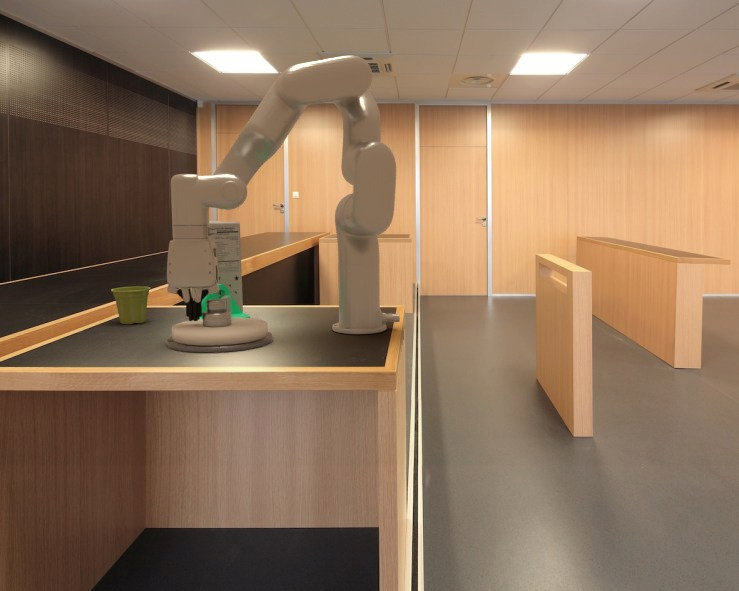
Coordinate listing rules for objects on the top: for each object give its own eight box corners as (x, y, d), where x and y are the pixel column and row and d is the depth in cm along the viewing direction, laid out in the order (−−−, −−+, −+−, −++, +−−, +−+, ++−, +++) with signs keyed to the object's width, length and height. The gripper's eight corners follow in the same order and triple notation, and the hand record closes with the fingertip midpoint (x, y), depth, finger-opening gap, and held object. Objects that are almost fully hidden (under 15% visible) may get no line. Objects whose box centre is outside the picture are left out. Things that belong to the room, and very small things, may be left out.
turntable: (272, 326, 153) (271, 294, 152) (261, 344, 133) (260, 308, 132) (184, 328, 152) (183, 296, 151) (160, 346, 132) (159, 309, 131)
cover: (233, 322, 145) (232, 297, 144) (228, 327, 139) (228, 301, 138) (205, 322, 145) (204, 298, 144) (200, 327, 139) (199, 302, 138)
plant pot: (105, 325, 165) (102, 290, 163) (127, 318, 174) (125, 285, 172) (138, 326, 162) (136, 291, 161) (159, 320, 171) (157, 286, 170)
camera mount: (203, 332, 155) (201, 288, 154) (194, 327, 162) (192, 285, 160) (252, 327, 161) (250, 285, 160) (241, 322, 168) (239, 282, 166)
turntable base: (277, 331, 154) (277, 327, 154) (266, 352, 132) (266, 347, 132) (181, 333, 153) (181, 328, 153) (154, 353, 131) (154, 348, 131)
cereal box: (192, 311, 185) (188, 221, 182) (218, 309, 189) (215, 220, 185) (214, 323, 166) (210, 222, 163) (243, 320, 170) (240, 222, 167)
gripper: (230, 233, 143) (232, 317, 146) (160, 233, 143) (163, 317, 145) (223, 234, 136) (226, 323, 138) (150, 234, 135) (153, 323, 138)
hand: (194, 320), depth 142 cm, fingers closed
